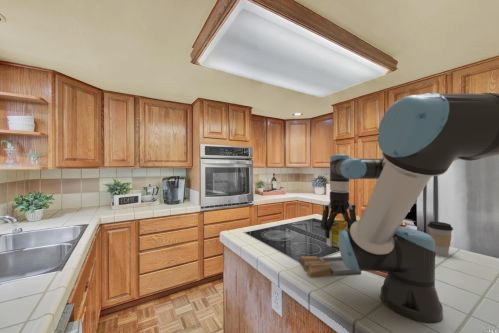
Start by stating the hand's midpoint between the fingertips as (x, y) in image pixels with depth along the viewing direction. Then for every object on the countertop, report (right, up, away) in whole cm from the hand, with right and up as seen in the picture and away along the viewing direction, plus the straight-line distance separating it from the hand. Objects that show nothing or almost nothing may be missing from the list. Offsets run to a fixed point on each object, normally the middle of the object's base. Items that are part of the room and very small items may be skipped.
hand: (338, 245), depth 88 cm
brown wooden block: (-11, -10, +1) cm, 15 cm away
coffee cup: (+56, -10, +15) cm, 59 cm away
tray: (0, -9, 0) cm, 9 cm away
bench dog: (-10, -9, -6) cm, 15 cm away
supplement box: (0, -1, 0) cm, 1 cm away
